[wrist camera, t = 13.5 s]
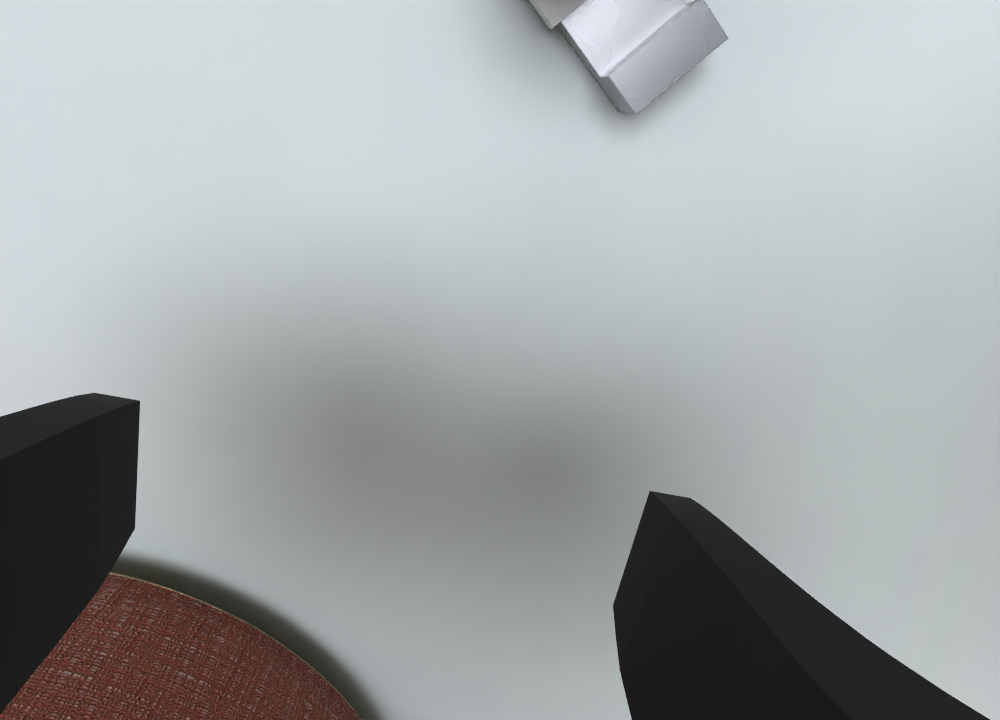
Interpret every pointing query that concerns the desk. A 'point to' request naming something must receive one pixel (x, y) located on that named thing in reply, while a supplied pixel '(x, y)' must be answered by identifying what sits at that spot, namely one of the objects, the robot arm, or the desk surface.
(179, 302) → the desk surface
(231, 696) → the planter
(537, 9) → the lever
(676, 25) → the rail
